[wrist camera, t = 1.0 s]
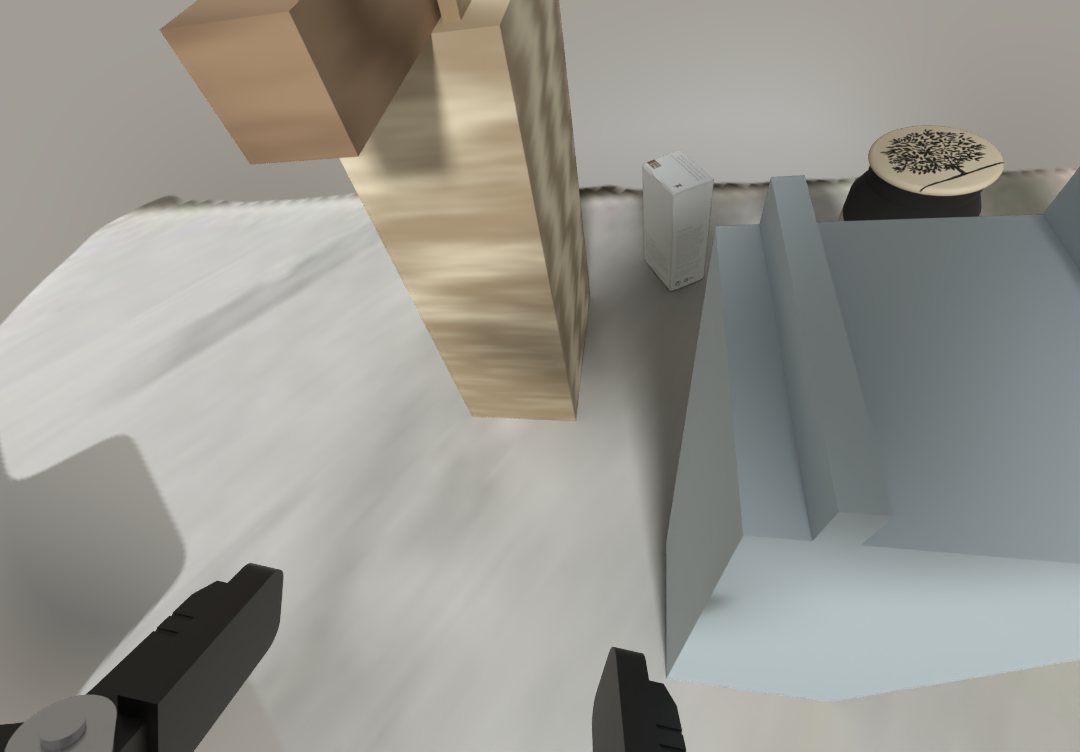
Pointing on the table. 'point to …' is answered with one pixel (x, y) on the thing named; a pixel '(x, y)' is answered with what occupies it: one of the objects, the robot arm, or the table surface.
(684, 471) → the slate pedestal
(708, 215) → the skincare box
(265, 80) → the walnut rail
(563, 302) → the birch stand
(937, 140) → the travel mug
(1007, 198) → the table surface
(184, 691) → the robot arm
